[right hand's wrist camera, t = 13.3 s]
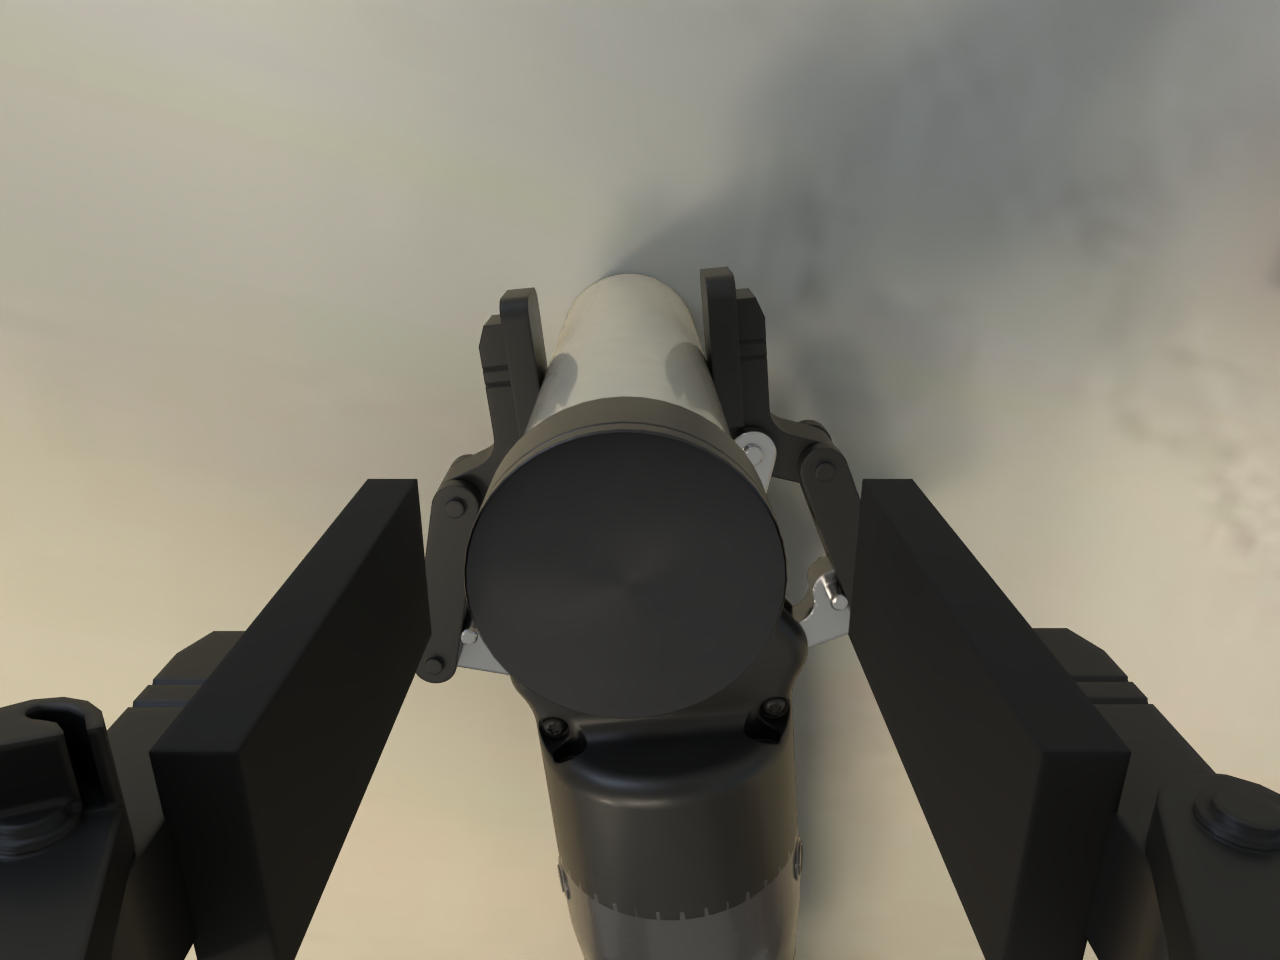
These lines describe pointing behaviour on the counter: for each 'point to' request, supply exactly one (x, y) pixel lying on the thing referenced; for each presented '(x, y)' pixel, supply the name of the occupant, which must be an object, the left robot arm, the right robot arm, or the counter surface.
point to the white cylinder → (628, 351)
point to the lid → (625, 560)
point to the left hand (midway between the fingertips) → (618, 285)
